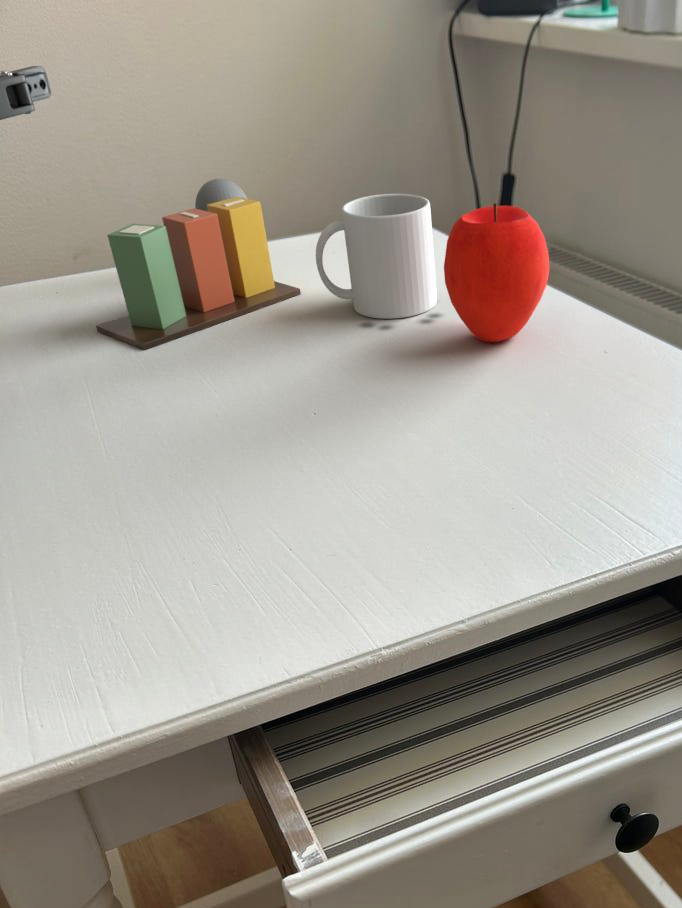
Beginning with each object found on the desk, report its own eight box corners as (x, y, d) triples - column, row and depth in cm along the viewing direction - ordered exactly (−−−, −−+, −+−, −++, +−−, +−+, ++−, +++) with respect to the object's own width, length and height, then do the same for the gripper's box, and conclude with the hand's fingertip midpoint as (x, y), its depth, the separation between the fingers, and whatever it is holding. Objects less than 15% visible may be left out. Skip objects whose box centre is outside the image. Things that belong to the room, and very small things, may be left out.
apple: (550, 355, 91) (549, 216, 83) (444, 358, 91) (434, 221, 84) (549, 317, 99) (548, 187, 91) (452, 320, 99) (443, 191, 92)
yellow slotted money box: (224, 291, 108) (206, 203, 102) (253, 281, 110) (237, 195, 105) (246, 298, 106) (229, 209, 100) (275, 288, 108) (260, 200, 102)
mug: (451, 295, 105) (444, 196, 99) (409, 325, 99) (400, 221, 92) (364, 285, 109) (353, 189, 103) (318, 314, 102) (303, 213, 96)
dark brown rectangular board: (96, 331, 102) (95, 325, 101) (251, 279, 113) (250, 273, 112) (144, 350, 97) (143, 344, 96) (301, 293, 108) (300, 288, 108)
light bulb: (244, 259, 119) (227, 170, 113) (269, 269, 116) (253, 178, 109) (200, 270, 116) (180, 180, 110) (224, 281, 113) (205, 188, 106)
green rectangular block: (131, 325, 101) (106, 233, 95) (155, 312, 103) (132, 222, 98) (163, 329, 99) (140, 236, 94) (186, 316, 102) (165, 224, 97)
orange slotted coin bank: (182, 305, 105) (161, 216, 99) (212, 294, 107) (194, 207, 102) (203, 312, 103) (183, 221, 97) (234, 302, 105) (216, 212, 99)
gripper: (-114, 59, 63) (58, 25, 75) (-265, 58, 67) (-80, 26, 79) (-68, 184, 68) (87, 134, 79) (-212, 175, 72) (-45, 128, 84)
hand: (3, 80), depth 79 cm, fingers open, 8 cm apart
